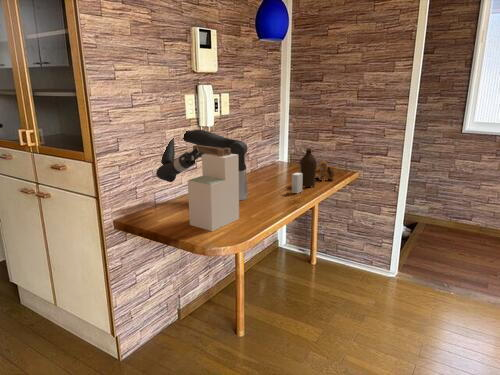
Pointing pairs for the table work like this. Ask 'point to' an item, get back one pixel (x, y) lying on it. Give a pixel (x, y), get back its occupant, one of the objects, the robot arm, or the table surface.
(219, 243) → the table surface
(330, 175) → the stuffed squirrel
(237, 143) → the robot arm
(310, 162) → the olive oil
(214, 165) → the stepped stand
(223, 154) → the walnut T-handle
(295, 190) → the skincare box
